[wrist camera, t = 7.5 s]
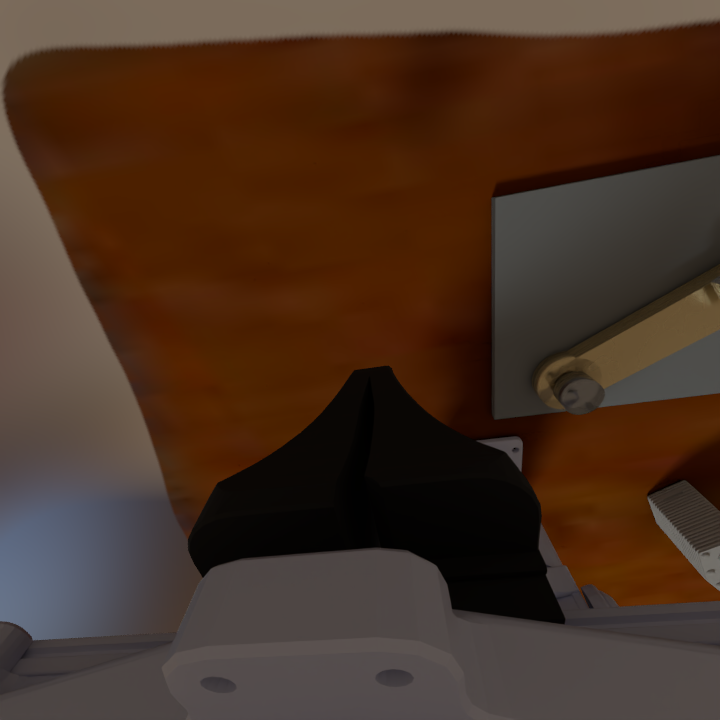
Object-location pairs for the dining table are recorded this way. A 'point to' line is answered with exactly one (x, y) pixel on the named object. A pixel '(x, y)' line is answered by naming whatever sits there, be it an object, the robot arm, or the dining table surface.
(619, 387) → the slate board
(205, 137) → the dining table surface
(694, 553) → the grey padlock
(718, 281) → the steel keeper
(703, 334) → the brass link
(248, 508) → the robot arm
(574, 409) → the pin cap
